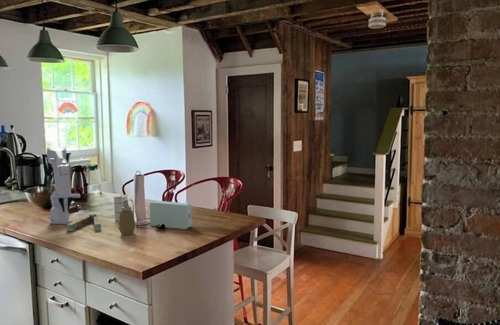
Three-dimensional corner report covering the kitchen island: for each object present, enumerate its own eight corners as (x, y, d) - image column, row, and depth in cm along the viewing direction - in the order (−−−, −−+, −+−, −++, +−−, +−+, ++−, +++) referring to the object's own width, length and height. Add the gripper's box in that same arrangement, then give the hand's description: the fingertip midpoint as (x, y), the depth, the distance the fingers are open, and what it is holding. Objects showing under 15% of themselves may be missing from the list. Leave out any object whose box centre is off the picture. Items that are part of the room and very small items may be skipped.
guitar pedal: (149, 225, 224) (148, 202, 222) (155, 223, 229) (154, 200, 228) (186, 229, 216) (186, 205, 215) (191, 227, 222) (191, 203, 220)
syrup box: (123, 221, 233) (122, 196, 231) (114, 220, 234) (113, 196, 233) (128, 218, 239) (127, 194, 237) (119, 218, 240) (118, 194, 238)
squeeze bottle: (126, 237, 202) (125, 202, 200) (115, 234, 206) (114, 200, 204) (138, 233, 209) (137, 199, 207) (128, 231, 213) (126, 198, 211)
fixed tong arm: (89, 221, 233) (89, 214, 232) (99, 220, 235) (99, 213, 235) (89, 231, 212) (89, 224, 212) (101, 230, 214) (100, 222, 214)
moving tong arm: (84, 222, 230) (84, 216, 229) (90, 222, 229) (89, 216, 229) (66, 231, 212) (66, 224, 212) (72, 231, 212) (72, 224, 211)
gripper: (49, 189, 209) (50, 214, 210) (79, 187, 214) (80, 212, 216) (50, 186, 215) (51, 211, 217) (79, 185, 221) (80, 209, 222)
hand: (66, 211), depth 216 cm, fingers closed
